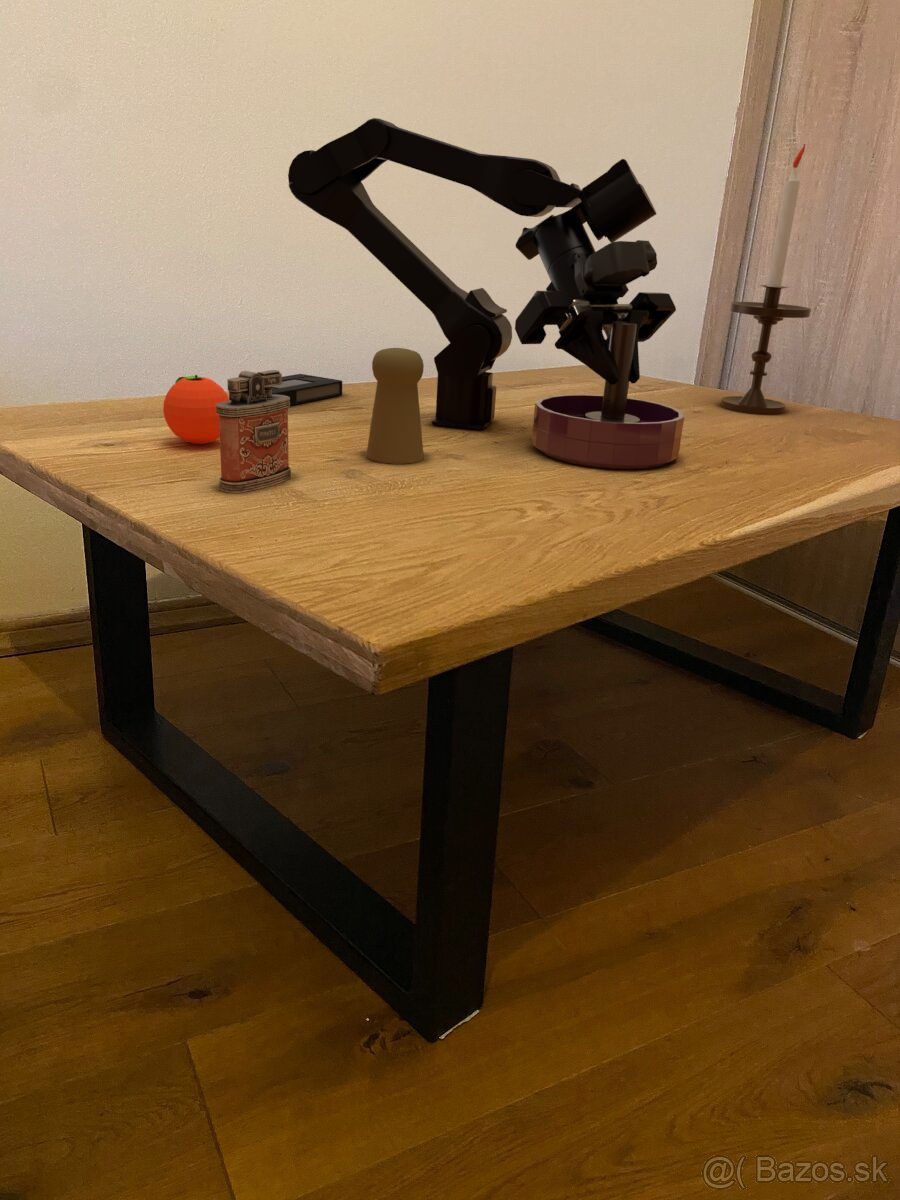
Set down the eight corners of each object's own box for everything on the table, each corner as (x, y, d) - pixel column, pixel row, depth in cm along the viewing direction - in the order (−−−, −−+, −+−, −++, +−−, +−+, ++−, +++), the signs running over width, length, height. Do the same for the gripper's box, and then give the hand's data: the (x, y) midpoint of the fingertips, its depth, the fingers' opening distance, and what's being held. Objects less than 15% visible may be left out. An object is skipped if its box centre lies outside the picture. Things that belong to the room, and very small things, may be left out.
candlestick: (798, 408, 138) (850, 147, 124) (780, 419, 129) (833, 139, 116) (726, 398, 143) (768, 146, 129) (704, 407, 134) (747, 139, 121)
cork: (431, 454, 99) (436, 348, 95) (411, 466, 94) (415, 355, 89) (379, 447, 101) (382, 343, 96) (356, 458, 95) (358, 349, 91)
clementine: (147, 439, 98) (142, 371, 96) (203, 431, 103) (200, 366, 100) (189, 454, 93) (185, 382, 91) (246, 445, 98) (244, 377, 95)
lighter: (238, 495, 81) (234, 379, 77) (210, 487, 83) (205, 374, 79) (299, 477, 88) (298, 369, 84) (272, 470, 89) (270, 365, 85)
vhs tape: (342, 395, 128) (343, 380, 127) (273, 409, 116) (273, 393, 115) (300, 388, 131) (300, 373, 130) (229, 401, 120) (228, 385, 119)
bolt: (579, 446, 101) (593, 322, 96) (584, 435, 106) (598, 317, 101) (635, 452, 100) (652, 327, 95) (637, 441, 105) (654, 322, 100)
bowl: (522, 461, 98) (526, 414, 96) (541, 431, 113) (545, 389, 111) (677, 477, 95) (684, 429, 93) (677, 444, 110) (683, 402, 108)
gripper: (541, 205, 92) (600, 335, 88) (677, 215, 102) (736, 333, 97) (491, 282, 101) (542, 402, 97) (619, 284, 111) (671, 394, 106)
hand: (625, 381), depth 99 cm, fingers closed on bolt, 2 cm apart
